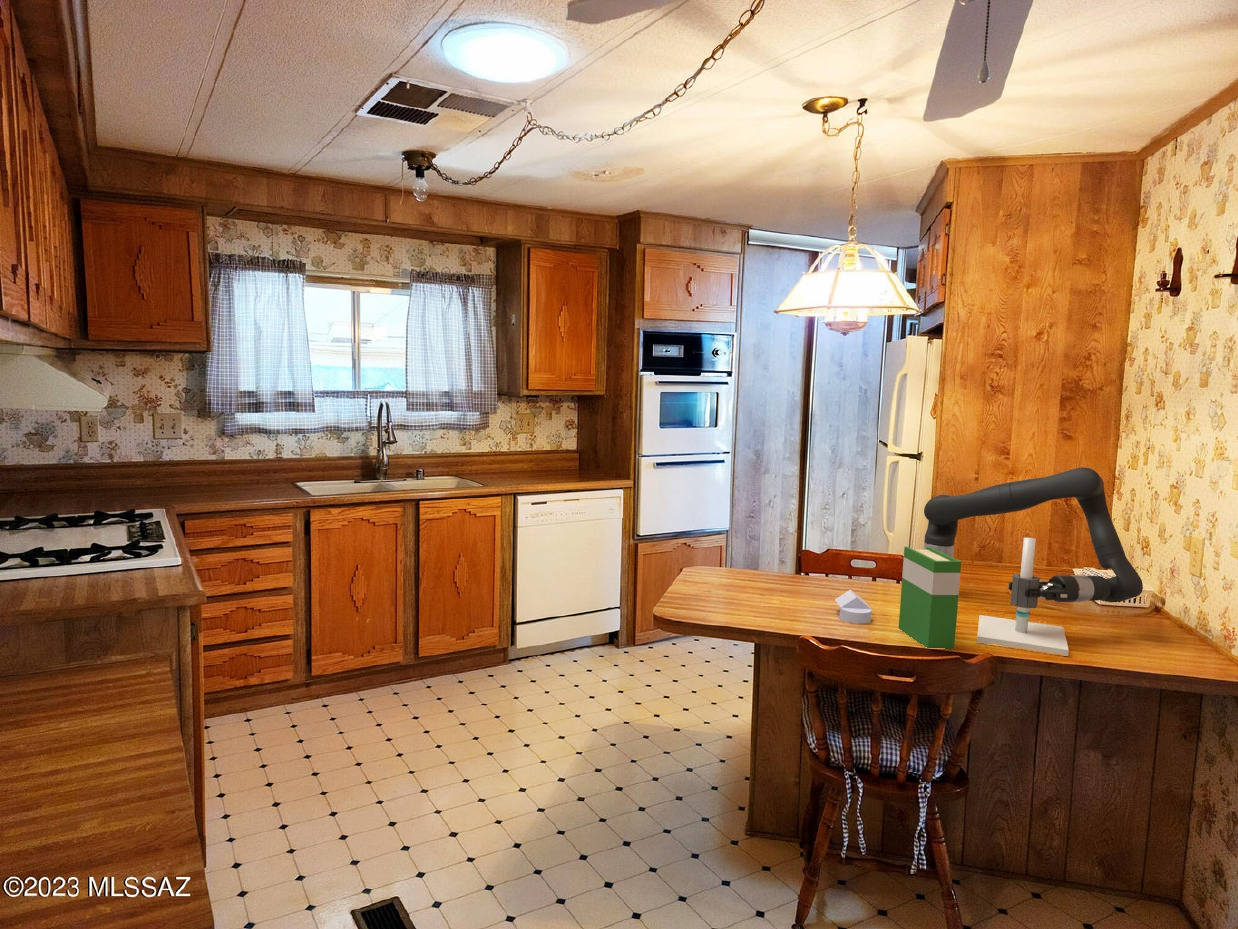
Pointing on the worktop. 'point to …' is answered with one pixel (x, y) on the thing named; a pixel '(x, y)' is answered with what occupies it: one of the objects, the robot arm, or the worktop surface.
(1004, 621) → the post board
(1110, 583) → the robot arm
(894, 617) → the worktop surface
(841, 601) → the wedge on round base
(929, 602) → the hardback book
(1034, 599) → the collar
